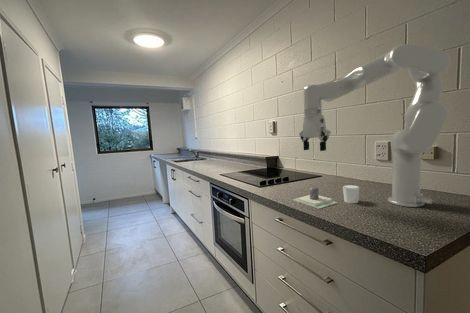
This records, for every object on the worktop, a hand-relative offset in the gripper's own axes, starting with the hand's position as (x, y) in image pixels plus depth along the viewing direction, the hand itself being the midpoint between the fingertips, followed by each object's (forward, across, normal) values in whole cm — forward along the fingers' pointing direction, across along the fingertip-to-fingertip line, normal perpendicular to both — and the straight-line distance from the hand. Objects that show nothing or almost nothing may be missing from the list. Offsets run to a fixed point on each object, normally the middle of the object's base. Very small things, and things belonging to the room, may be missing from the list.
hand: (314, 150), depth 103 cm
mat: (+24, 0, +2) cm, 24 cm away
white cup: (+25, -10, -11) cm, 29 cm away
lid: (+24, 0, +2) cm, 24 cm away
